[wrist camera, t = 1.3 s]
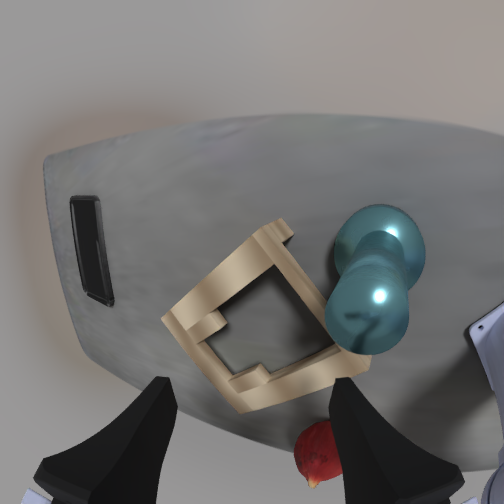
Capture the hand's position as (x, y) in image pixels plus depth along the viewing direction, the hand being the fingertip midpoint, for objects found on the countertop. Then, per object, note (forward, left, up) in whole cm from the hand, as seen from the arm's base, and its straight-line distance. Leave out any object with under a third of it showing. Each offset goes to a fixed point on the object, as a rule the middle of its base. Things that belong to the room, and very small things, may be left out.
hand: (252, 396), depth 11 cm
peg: (-6, 0, -11) cm, 13 cm away
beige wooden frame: (+6, 0, -11) cm, 13 cm away
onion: (+7, +13, -12) cm, 19 cm away
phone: (+23, -20, -12) cm, 33 cm away
